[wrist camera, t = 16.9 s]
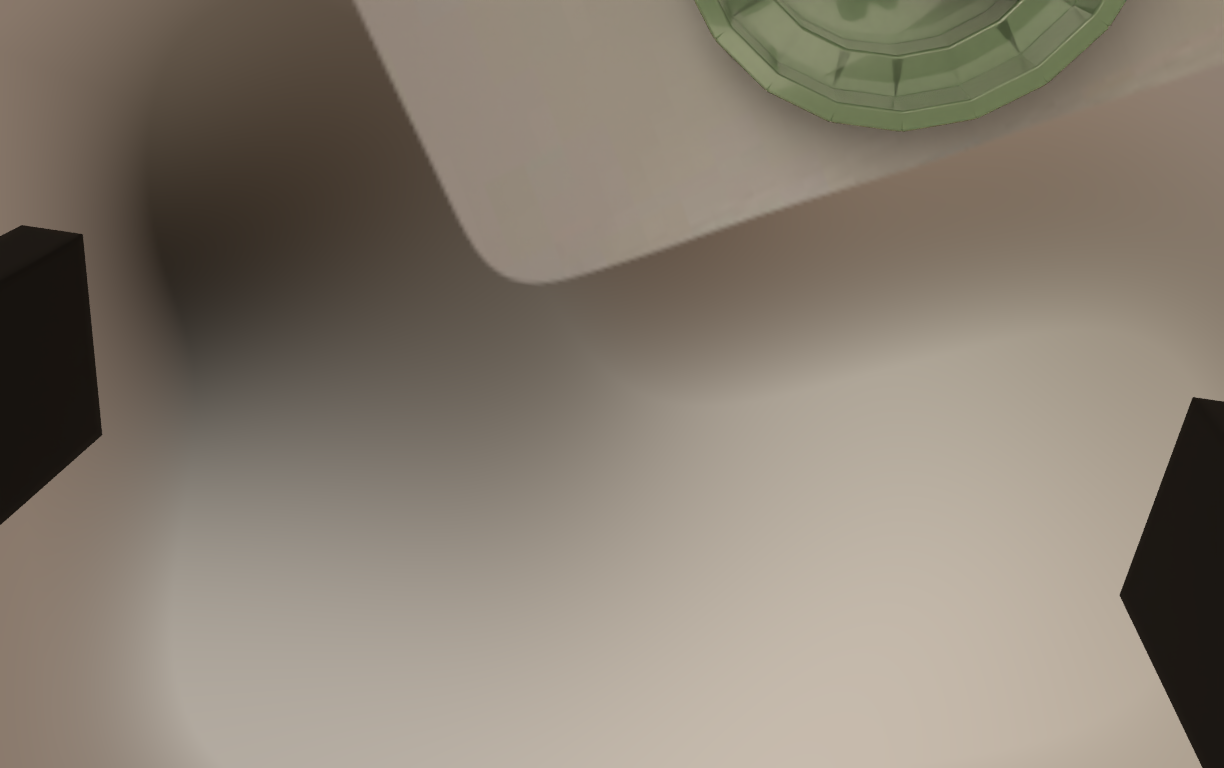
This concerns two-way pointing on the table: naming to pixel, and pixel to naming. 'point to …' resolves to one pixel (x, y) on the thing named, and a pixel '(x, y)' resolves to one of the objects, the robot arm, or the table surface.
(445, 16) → the table surface
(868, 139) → the table surface
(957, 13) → the bowl
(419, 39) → the table surface
